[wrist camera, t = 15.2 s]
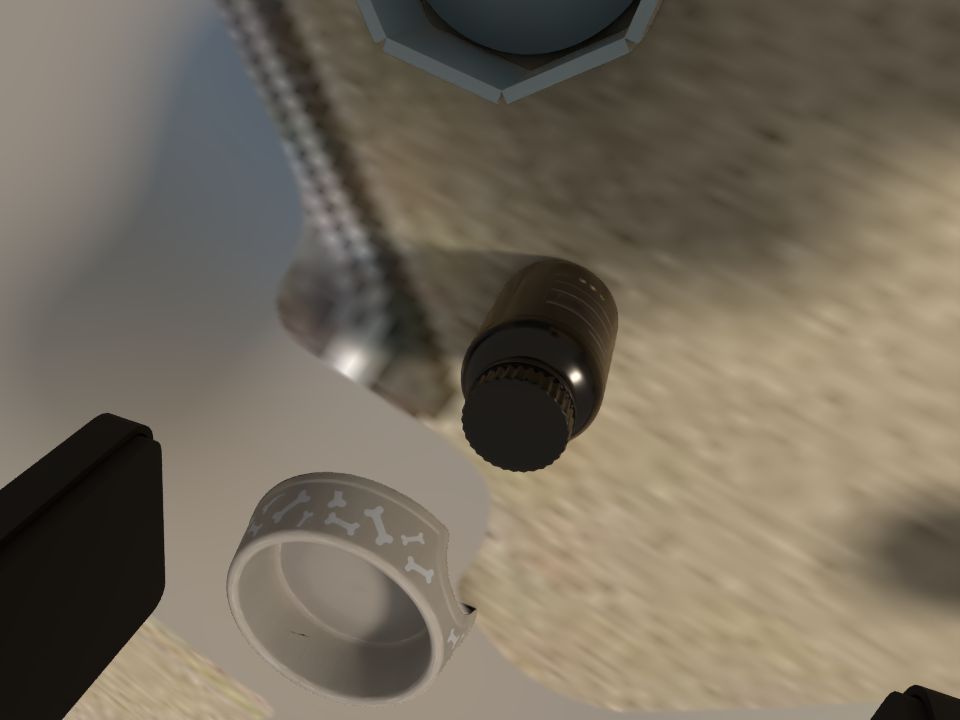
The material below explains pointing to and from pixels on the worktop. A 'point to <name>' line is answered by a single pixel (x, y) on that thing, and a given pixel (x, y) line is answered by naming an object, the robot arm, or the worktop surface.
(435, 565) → the dog bowl
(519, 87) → the bowl
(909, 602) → the worktop surface
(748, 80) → the worktop surface
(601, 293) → the supplement bottle
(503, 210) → the worktop surface
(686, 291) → the worktop surface
